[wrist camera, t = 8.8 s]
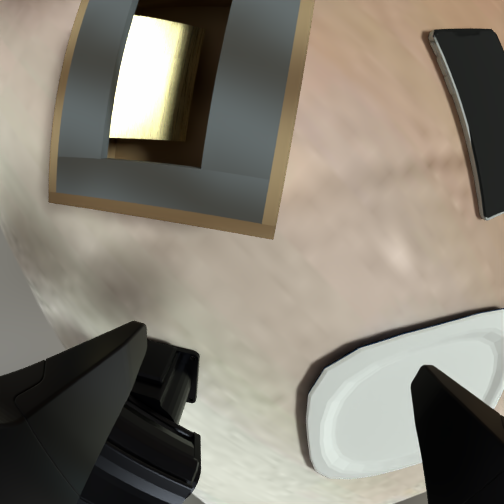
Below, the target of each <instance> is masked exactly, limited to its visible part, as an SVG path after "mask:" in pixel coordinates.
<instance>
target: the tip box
mask: <svg viewBox="0 0 504 504" xmlns="http://www.w3.org/2000/svg"><path fill="white" fill-rule="evenodd" d="M314 2H315V0H82V1H81V3H80V6H79V9H78V12H77V15H76V18H75V21H74V24H73V28H72V31H71V35H70V38H69V42H68V46H67V49H66V53H65V57H64V62H63V66H62V71H61V76H60V81H59V86H58V91H57V97H56V104H55V111H54V118H53V126H52V136H51V147H50V162H49V203H55V204H62V205H69V206H75V207H82V208H88V209H95V210H101V211H107V212H114V213H120V214H126V215H132V216H139V217H145V218H151V219H157V220H163V221H169V222H175V223H181V224H187V225H192V226H198V227H204V228H210V229H216V230H221V231H227V232H233V233H238V234H244V235H250V236H255V237H261V238H266V239H272V240H273V238H274V233H275V228H276V223H277V218H278V212H279V207H280V202H281V197H282V191H283V186H284V180H285V175H286V170H287V164H288V159H289V153H290V147H291V142H292V136H293V131H294V125H295V119H296V113H297V108H298V102H299V96H300V90H301V84H302V78H303V72H304V66H305V60H306V54H307V47H308V41H309V35H310V28H311V22H312V15H313V9H314ZM134 15H136V16H143V17H150V18H156V19H162V20H167V21H172V22H177V23H182V24H186V25H191V26H195V27H199V28H203V29H206V30H205V34H204V39H203V43H202V48H201V53H200V58H199V63H198V68H197V73H196V78H195V84H194V89H193V95H192V101H191V107H190V113H189V119H188V126H187V132H186V139H185V142H182V141H170V140H155V139H137V138H109V136H110V128H111V120H112V113H113V107H114V101H115V95H116V89H117V84H118V78H119V74H120V69H121V64H122V60H123V55H124V51H125V47H126V43H127V39H128V35H129V31H130V28H131V24H132V21H133V17H134Z"/></svg>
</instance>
